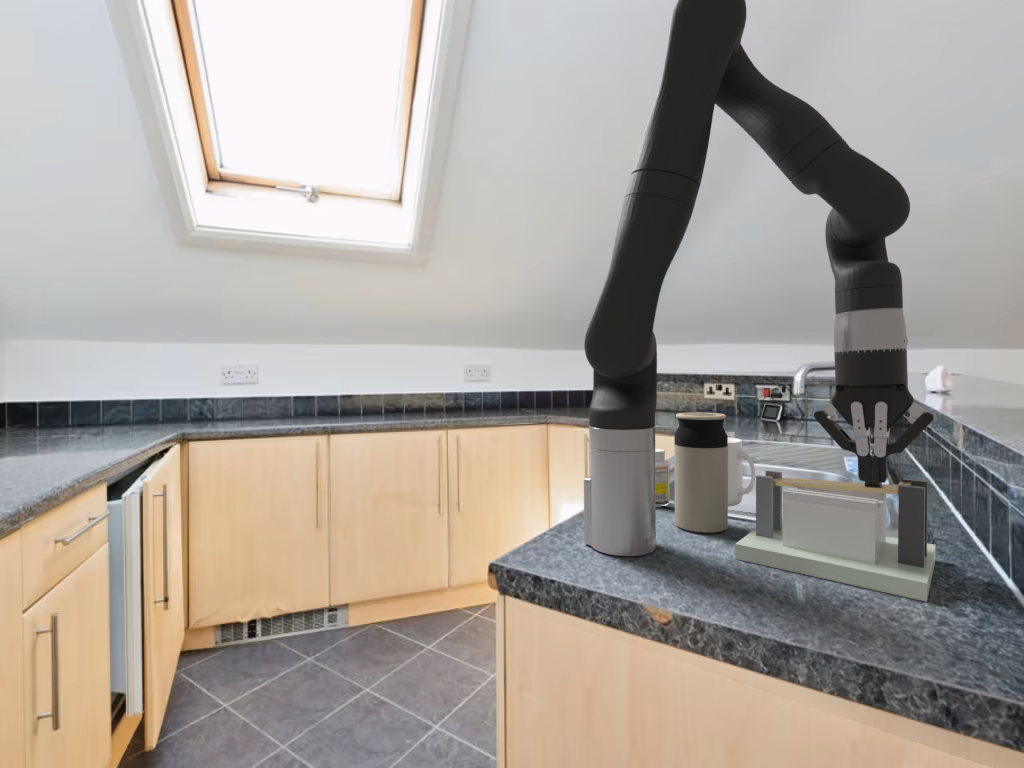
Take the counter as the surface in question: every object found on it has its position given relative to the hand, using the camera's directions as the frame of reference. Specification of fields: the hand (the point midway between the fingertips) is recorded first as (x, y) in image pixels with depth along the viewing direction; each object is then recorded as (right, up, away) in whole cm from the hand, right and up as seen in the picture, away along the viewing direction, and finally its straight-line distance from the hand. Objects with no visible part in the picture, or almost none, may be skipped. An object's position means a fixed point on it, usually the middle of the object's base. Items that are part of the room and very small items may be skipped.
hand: (873, 485), depth 66 cm
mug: (-6, -10, +33) cm, 35 cm away
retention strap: (-4, -1, +3) cm, 5 cm away
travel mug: (-15, -10, +18) cm, 26 cm away
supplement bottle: (-19, -10, +32) cm, 38 cm away
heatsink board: (-3, -10, +3) cm, 11 cm away
